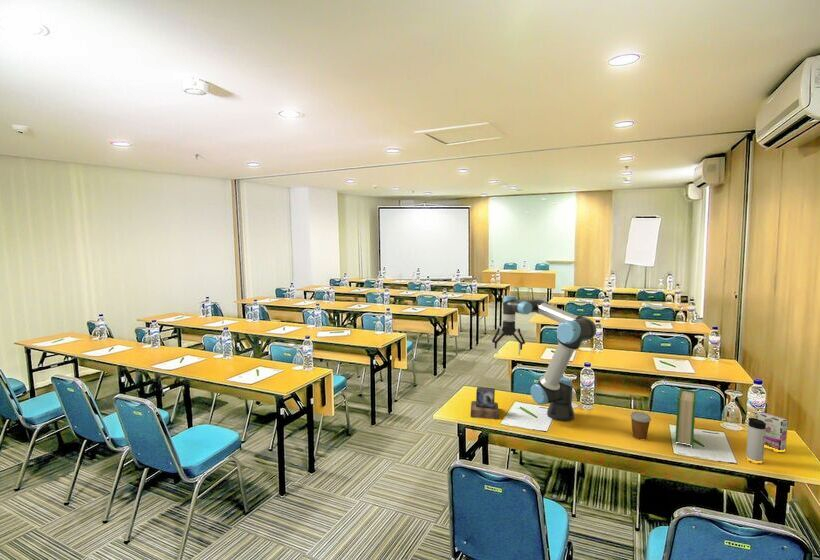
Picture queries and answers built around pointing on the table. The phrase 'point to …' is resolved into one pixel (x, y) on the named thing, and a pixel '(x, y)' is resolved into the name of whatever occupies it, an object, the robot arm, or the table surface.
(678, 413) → the hardback book
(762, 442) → the travel mug
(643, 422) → the disposable coffee cup
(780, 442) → the candy bar box
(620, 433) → the table surface
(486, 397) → the small box
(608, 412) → the table surface
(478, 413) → the walnut stand
